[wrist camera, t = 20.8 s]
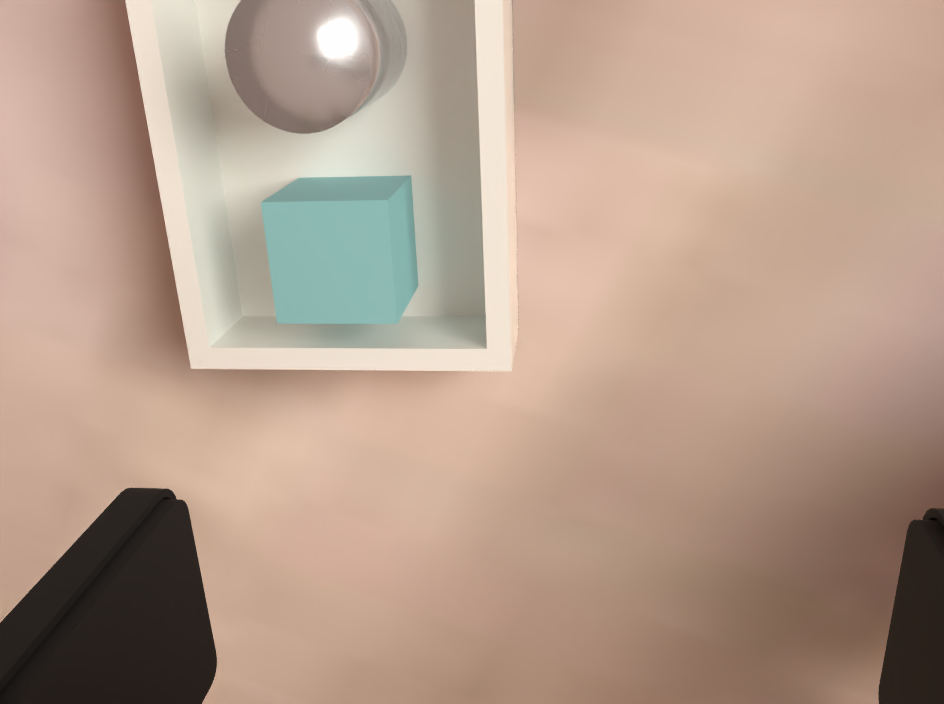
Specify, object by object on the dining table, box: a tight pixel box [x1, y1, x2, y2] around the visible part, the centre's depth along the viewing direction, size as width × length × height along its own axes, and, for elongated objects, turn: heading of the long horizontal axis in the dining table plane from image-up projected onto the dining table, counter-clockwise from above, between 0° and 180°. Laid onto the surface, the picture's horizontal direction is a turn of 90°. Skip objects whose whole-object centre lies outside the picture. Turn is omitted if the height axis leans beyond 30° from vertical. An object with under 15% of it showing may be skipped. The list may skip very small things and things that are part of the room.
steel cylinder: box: [225, 0, 407, 134], centre depth 32 cm, size 5×5×7 cm
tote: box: [125, 0, 519, 371], centre depth 35 cm, size 14×18×5 cm
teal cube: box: [261, 175, 418, 324], centre depth 36 cm, size 5×5×5 cm
